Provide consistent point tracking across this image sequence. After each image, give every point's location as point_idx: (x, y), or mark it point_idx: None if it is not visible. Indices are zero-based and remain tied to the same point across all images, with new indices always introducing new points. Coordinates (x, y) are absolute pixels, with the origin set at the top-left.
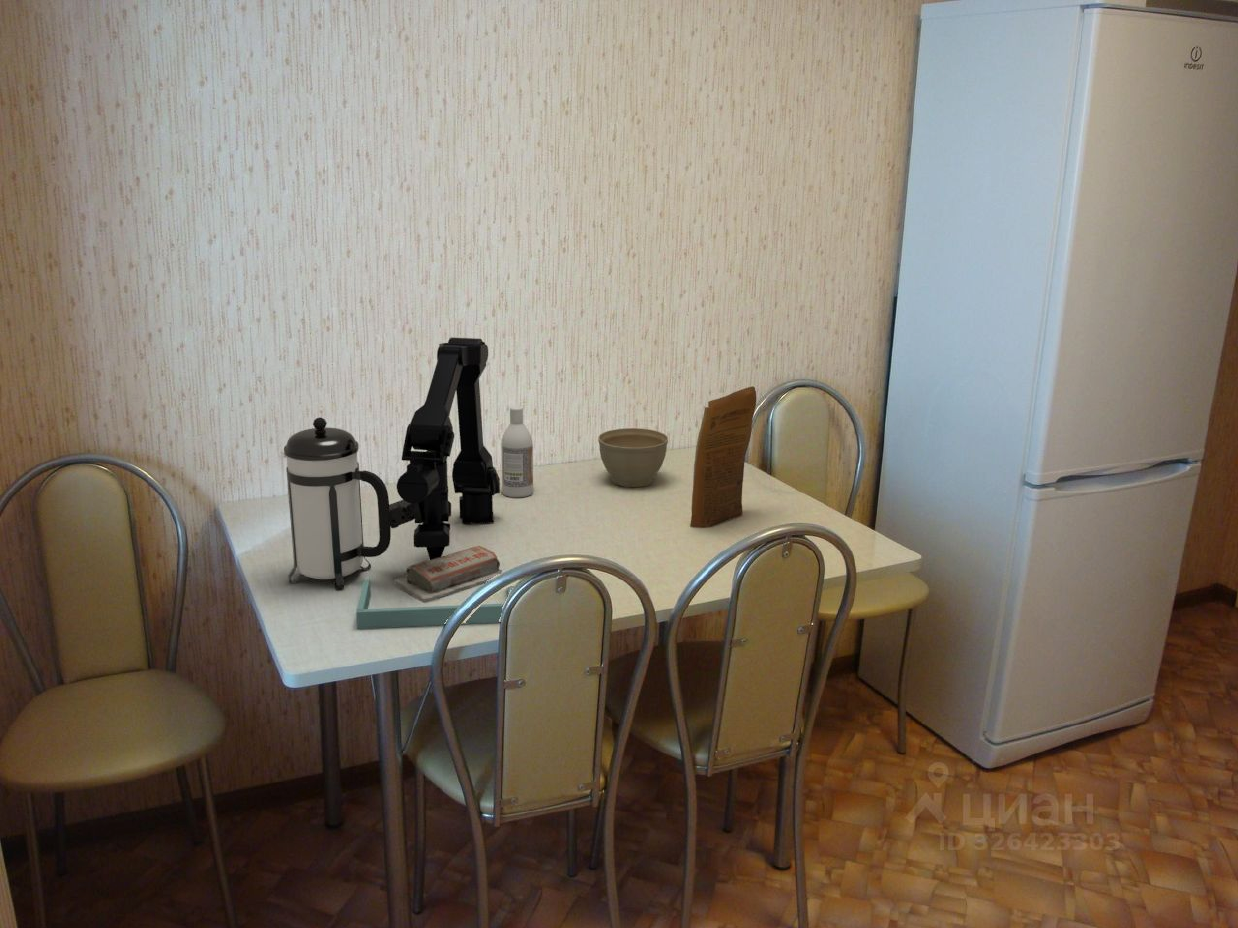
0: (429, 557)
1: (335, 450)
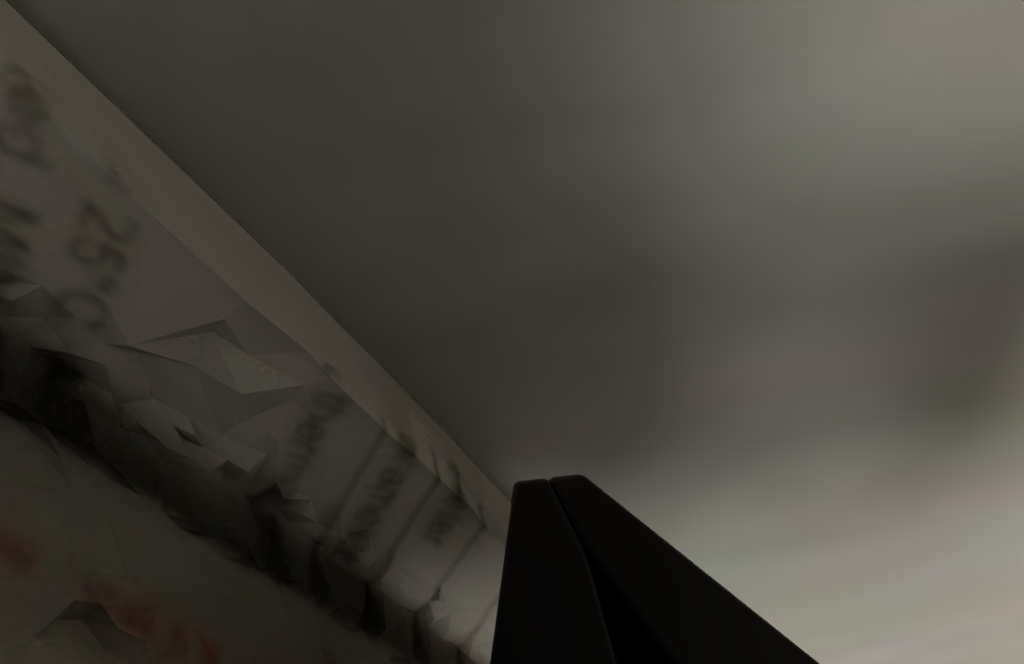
0: (498, 607)
1: None
